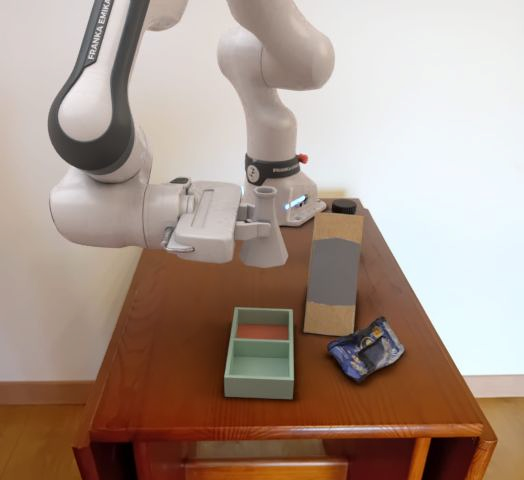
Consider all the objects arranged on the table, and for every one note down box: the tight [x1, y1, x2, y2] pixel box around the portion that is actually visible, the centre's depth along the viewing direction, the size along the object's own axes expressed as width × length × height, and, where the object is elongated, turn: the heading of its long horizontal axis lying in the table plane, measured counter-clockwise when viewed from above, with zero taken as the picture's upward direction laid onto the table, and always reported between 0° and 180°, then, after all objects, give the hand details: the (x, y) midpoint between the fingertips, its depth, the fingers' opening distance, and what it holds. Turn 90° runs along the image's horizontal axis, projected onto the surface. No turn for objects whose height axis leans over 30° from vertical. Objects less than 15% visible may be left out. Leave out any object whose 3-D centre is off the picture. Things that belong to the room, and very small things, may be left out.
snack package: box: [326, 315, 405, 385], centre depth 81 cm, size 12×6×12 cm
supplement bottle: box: [330, 198, 358, 215], centre depth 108 cm, size 7×7×12 cm
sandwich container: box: [303, 211, 365, 337], centre depth 90 cm, size 9×15×15 cm, turn 172°
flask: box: [238, 186, 289, 269], centre depth 75 cm, size 7×7×10 cm
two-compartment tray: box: [223, 306, 295, 400], centre depth 82 cm, size 18×10×4 cm, turn 178°
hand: (271, 221), depth 74 cm, fingers closed on flask, 3 cm apart
